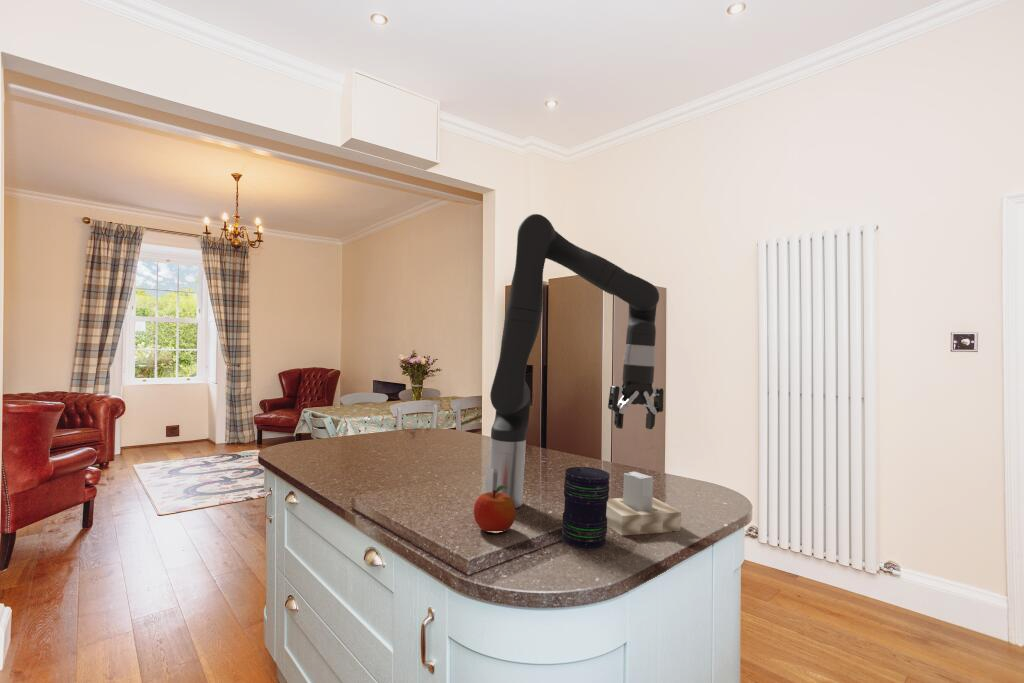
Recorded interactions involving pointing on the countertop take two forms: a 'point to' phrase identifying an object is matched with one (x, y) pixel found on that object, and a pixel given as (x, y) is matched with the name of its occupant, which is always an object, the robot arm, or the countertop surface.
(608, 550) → the countertop surface
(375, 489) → the countertop surface
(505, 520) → the fruit
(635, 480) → the skincare box
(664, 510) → the well block
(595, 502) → the storage jar
